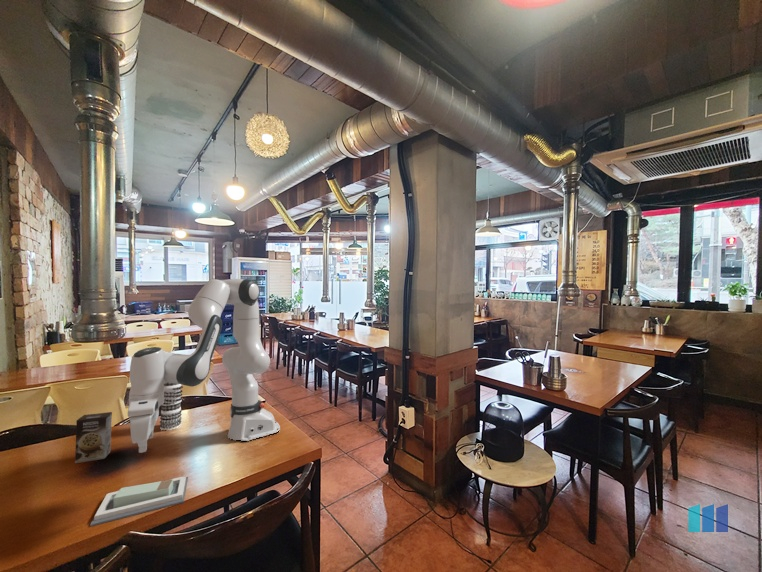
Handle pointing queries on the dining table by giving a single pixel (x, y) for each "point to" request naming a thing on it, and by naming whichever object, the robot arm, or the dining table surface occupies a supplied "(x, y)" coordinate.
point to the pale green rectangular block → (142, 493)
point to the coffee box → (93, 437)
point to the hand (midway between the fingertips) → (146, 444)
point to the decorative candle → (171, 407)
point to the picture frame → (139, 504)
